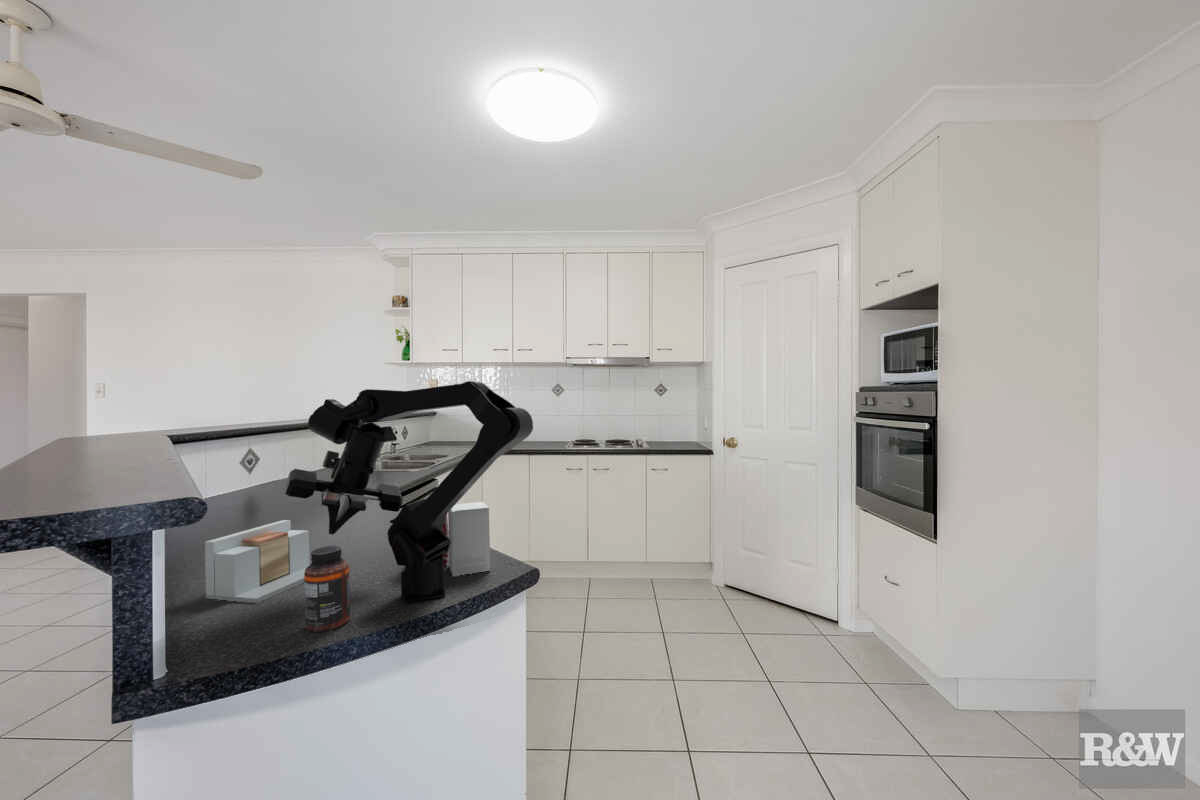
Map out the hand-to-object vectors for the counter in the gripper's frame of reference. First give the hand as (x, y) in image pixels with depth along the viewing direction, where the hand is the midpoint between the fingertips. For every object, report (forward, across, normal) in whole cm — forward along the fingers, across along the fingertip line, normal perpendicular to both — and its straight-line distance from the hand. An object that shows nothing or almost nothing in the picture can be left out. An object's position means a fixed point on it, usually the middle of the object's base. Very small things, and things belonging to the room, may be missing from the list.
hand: (330, 533), depth 88 cm
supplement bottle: (+5, 0, +19) cm, 20 cm away
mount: (+15, +5, -6) cm, 16 cm away
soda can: (+4, -20, +1) cm, 21 cm away
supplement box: (+1, -26, +7) cm, 26 cm away
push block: (+14, +7, -7) cm, 17 cm away
